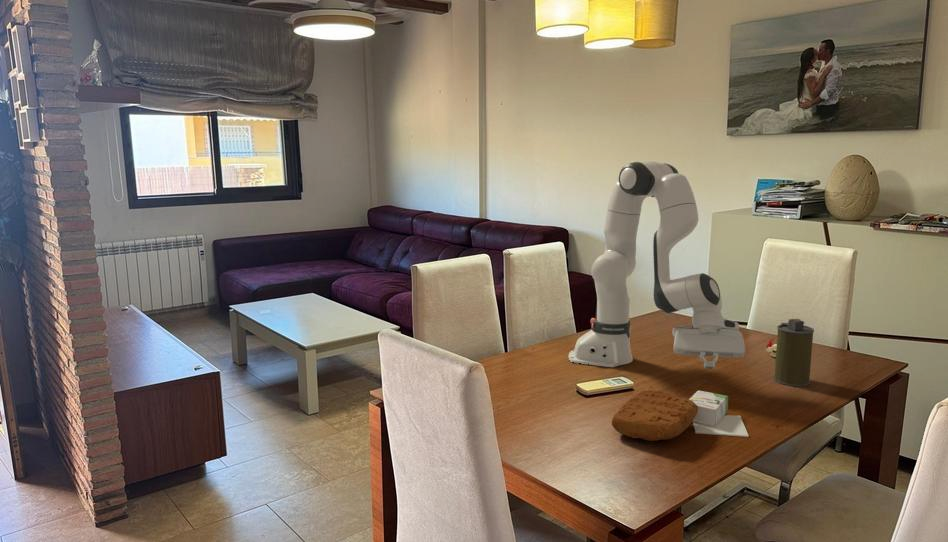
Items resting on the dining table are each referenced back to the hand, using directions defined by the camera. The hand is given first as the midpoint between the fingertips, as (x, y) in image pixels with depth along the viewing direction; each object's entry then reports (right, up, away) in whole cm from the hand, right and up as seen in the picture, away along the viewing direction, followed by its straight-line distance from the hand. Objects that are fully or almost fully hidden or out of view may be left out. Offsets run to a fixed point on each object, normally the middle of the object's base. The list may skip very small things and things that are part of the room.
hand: (709, 367), depth 190 cm
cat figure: (+43, -1, +45) cm, 62 cm away
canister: (+32, -7, +15) cm, 36 cm away
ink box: (-2, -8, -8) cm, 11 cm away
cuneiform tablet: (-22, -14, -20) cm, 33 cm away
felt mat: (-4, -13, -17) cm, 22 cm away
